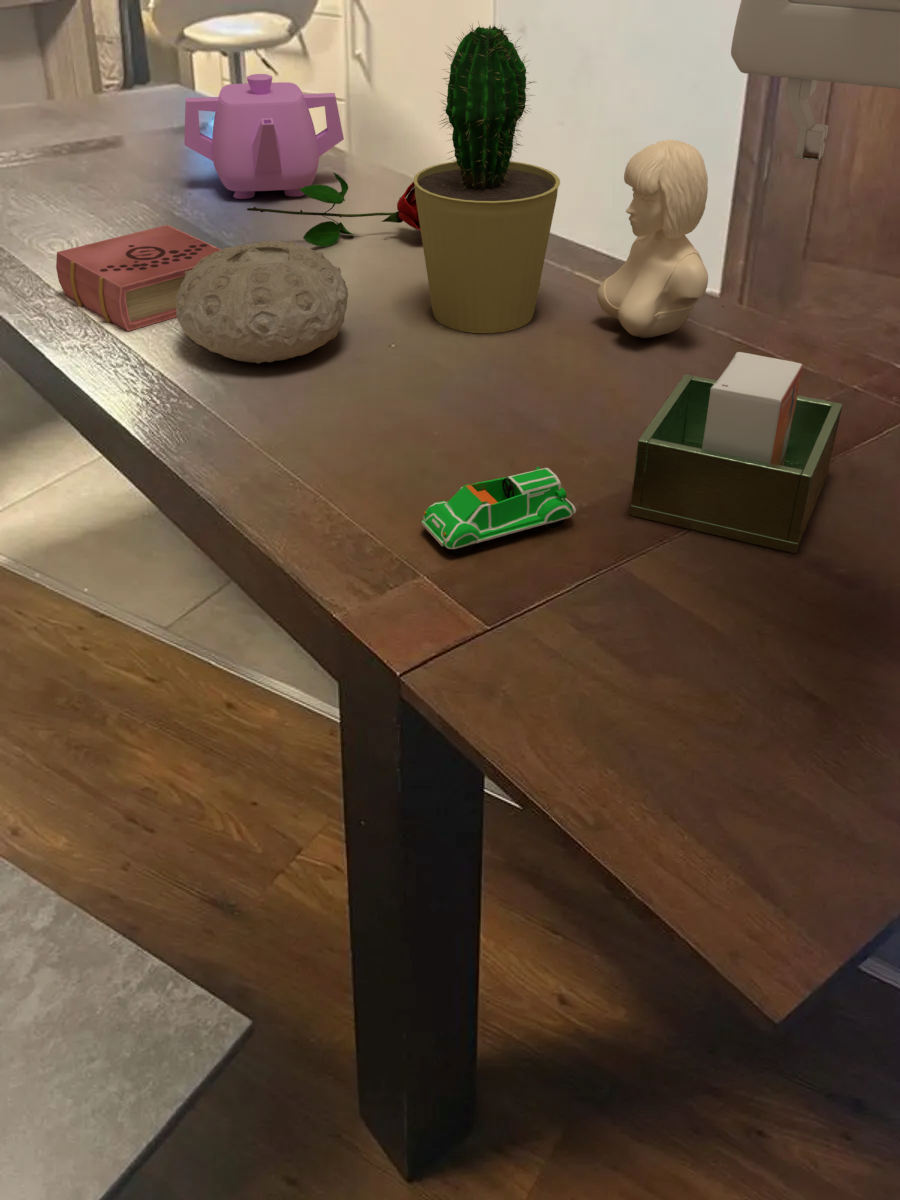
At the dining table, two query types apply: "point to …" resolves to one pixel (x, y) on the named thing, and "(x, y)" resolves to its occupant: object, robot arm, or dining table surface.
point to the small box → (753, 408)
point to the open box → (731, 473)
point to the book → (131, 274)
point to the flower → (331, 231)
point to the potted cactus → (485, 196)
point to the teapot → (263, 135)
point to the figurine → (660, 242)
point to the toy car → (498, 509)
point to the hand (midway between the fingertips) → (888, 167)
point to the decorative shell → (262, 301)
